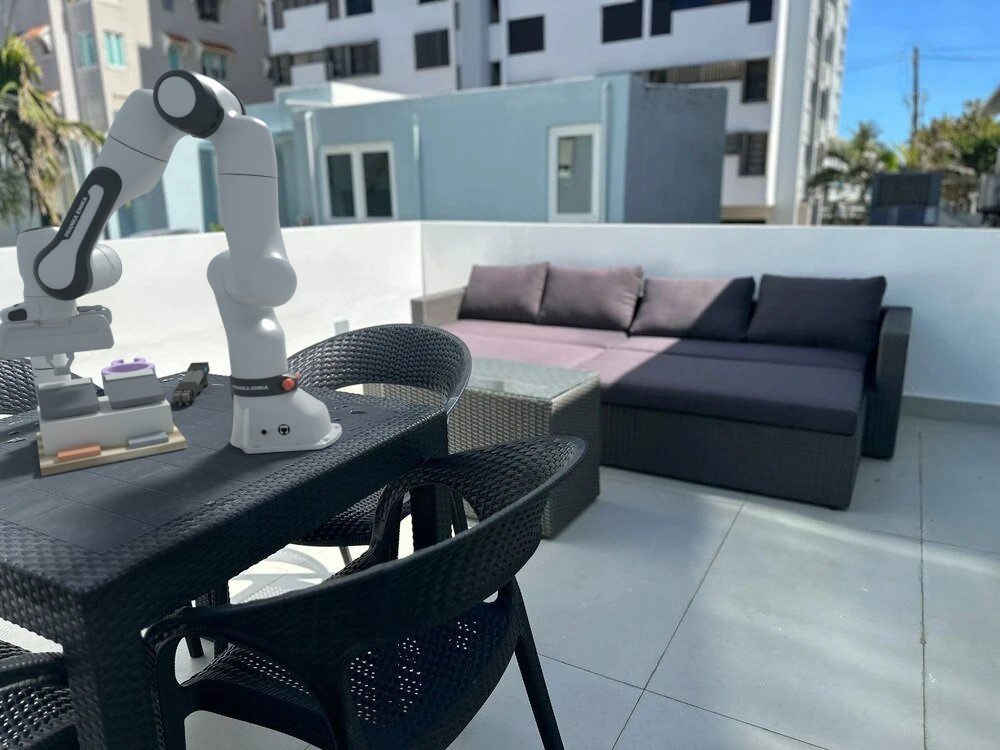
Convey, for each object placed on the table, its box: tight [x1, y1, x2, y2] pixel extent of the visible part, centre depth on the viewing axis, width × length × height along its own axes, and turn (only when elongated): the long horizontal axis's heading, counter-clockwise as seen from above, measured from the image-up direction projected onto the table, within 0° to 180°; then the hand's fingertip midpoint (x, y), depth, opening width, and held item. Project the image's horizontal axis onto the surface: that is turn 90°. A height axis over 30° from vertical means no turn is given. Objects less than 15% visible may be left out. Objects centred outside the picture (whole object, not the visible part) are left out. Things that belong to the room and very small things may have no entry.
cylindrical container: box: [29, 353, 72, 405], centre depth 160 cm, size 7×7×25 cm
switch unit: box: [36, 395, 188, 477], centre depth 145 cm, size 25×25×9 cm
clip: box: [100, 357, 157, 396], centre depth 186 cm, size 20×12×7 cm, turn 27°
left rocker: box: [35, 376, 101, 420], centre depth 142 cm, size 12×10×2 cm
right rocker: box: [101, 369, 166, 409], centre depth 149 cm, size 12×10×2 cm
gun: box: [172, 361, 211, 407], centre depth 180 cm, size 4×20×10 cm, turn 8°
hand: (62, 374), depth 145 cm, fingers closed
